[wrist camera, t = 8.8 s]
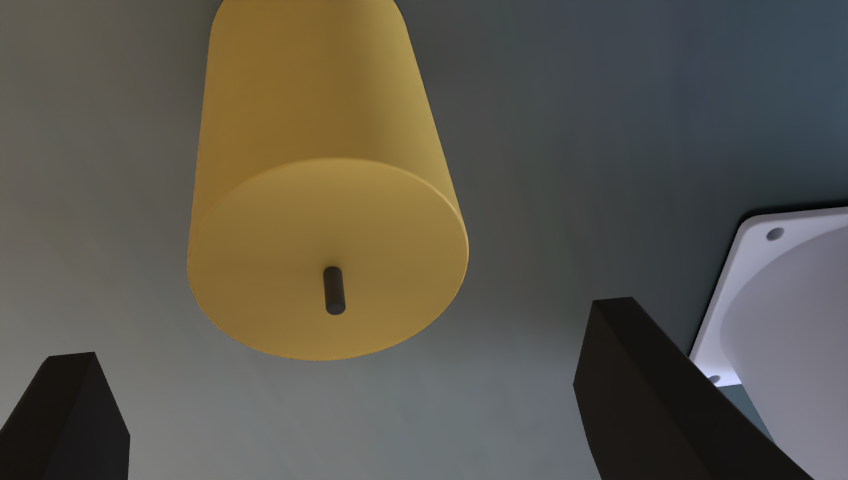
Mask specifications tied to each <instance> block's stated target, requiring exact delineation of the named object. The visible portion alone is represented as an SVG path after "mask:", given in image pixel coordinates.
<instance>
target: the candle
mask: <svg viewBox="0 0 848 480" xmlns="http://www.w3.org/2000/svg"><path fill="white" fill-rule="evenodd" d="M468 259H469V243H468V238H467V233H466V229H465V225H464V222H463V218H462V215H461V212H460V208H459V205H458V201H457V198H456V195H455V191H454V188H453V184H452V181H451V178H450V174H449V171H448V167H447V164H446V161H445V157H444V154H443V150H442V147H441V144H440V140H439V137H438V133H437V130H436V127H435V123H434V120H433V117H432V113H431V110H430V106H429V103H428V100H427V96H426V93H425V89H424V86H423V83H422V79H421V76H420V72H419V69H418V66H417V62H416V59H415V55H414V52H413V49H412V45H411V42H410V38H409V35H408V32H407V28H406V25H405V22H404V20H403V17H402V14H401V13H400V11H399V9H398V7H397V5H396V4H395V2H394V1H393V0H224V1H223V2H222V4H221V5H220V7H219V9H218V11H217V13H216V15H215V18H214V21H213V24H212V28H211V34H210V40H209V50H208V60H207V69H206V79H205V89H204V98H203V108H202V118H201V128H200V137H199V147H198V157H197V166H196V176H195V186H194V195H193V205H192V215H191V225H190V234H189V244H188V254H187V274H188V279H189V284H190V287H191V290H192V292H193V295H194V297H195V299H196V301H197V303H198V304H199V306H200V308H201V309H202V311H203V312H204V313H205V314H206V316H207V317H208V318H209V319H210V320H211V321H212V322H213V323H214V324H215V325H216V326H217V327H218V328H219V329H220V330H222V331H223V332H224V333H226V334H227V335H229V336H230V337H232V338H233V339H235V340H237V341H239V342H240V343H242V344H244V345H246V346H248V347H251V348H253V349H256V350H258V351H261V352H264V353H268V354H271V355H275V356H279V357H285V358H290V359H298V360H312V361H327V360H341V359H347V358H353V357H359V356H363V355H367V354H371V353H375V352H378V351H381V350H383V349H386V348H389V347H391V346H394V345H396V344H398V343H400V342H403V341H404V340H406V339H408V338H410V337H412V336H413V335H415V334H417V333H418V332H420V331H421V330H423V329H424V328H425V327H427V326H428V325H429V324H431V323H432V322H433V321H434V320H435V319H436V318H438V317H439V316H440V315H441V313H442V312H443V311H444V310H445V309H446V308H447V307H448V306H449V304H450V303H451V301H452V300H453V299H454V297H455V296H456V294H457V292H458V290H459V288H460V286H461V285H462V282H463V279H464V276H465V273H466V270H467V265H468Z"/></svg>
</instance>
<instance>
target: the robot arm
mask: <svg viewBox="0 0 848 480" xmlns="http://www.w3.org/2000/svg"><path fill="white" fill-rule="evenodd" d="M734 384H742V385H743V387H744V389H745V390H746V392H747V394H748V396H749V397H750V399H751V401H752V403H753V404H754V406H755V408H756V410H757V411H758V413H759V415H760V417H761V419H762V420H763V422H764V424H765V426H766V427H767V429H768V431H769V433H770V434H771V436H772V438H773V440H774V441H775V443H776V444H774V443H773V442H772V441H771V440H770V439H769V438H768V437H767V436H766V435H765V434H764V433H763V432H762V431H761V430H760V429H759V428H757V427H756V426H755V425H754V424H753V423H752V422H751V421H750V420H749V419H748V418H747V417H746V416H745V415H744V414H743V413H742V412H741V411H740V410H739V409H738V408H737V407H736V406H735V405H734V404H733V403H732V402H731V401H730V400H729V399H728V398H727V397H726V396H725V395H724V394H723V393H722V392H721V391H720V390H719V389H718V388H717V387H718V386H726V385H734ZM573 387H574V391H575V395H576V399H577V403H578V407H579V411H580V415H581V419H582V422H583V426H584V430H585V433H586V437H587V441H588V444H589V448H590V450H591V453H592V456H593V458H594V461H595V464H596V466H597V469H598V471H599V474H600V476H601V479H602V480H848V207H839V208H829V209H818V210H808V211H798V212H788V213H777V214H767V215H758V216H754V217H751V218H749V219H747V220H746V221H745V222H743V223H742V224H741V226H740V228H739V229H738V232H737V234H736V237H735V239H734V242H733V245H732V247H731V250H730V252H729V255H728V258H727V260H726V263H725V266H724V268H723V271H722V273H721V276H720V279H719V281H718V284H717V286H716V289H715V292H714V294H713V297H712V299H711V302H710V305H709V307H708V310H707V312H706V315H705V318H704V320H703V323H702V325H701V328H700V331H699V333H698V336H697V338H696V341H695V344H694V346H693V349H692V351H691V354H690V357H689V358H688V356H687V355H686V354H685V353H684V352H683V351H682V350H681V349H680V348H679V347H678V346H677V345H676V344H675V342H674V341H673V340H672V339H671V338H670V337H669V336H668V335H667V334H666V333H665V332H664V330H663V329H662V328H661V327H660V326H659V325H658V324H657V323H656V322H655V321H654V319H653V318H652V317H651V316H650V315H649V314H648V313H647V312H646V311H645V310H644V308H643V307H642V306H641V305H640V304H639V303H638V302H637V301H636V300H635V299H634V298H633V297H622V298H613V299H603V300H593V302H592V307H591V311H590V315H589V319H588V324H587V328H586V332H585V336H584V340H583V345H582V349H581V353H580V357H579V362H578V366H577V370H576V374H575V379H574V383H573ZM129 448H130V434H129V432H128V430H127V427H126V425H125V423H124V420H123V418H122V416H121V413H120V411H119V408H118V406H117V404H116V401H115V399H114V397H113V394H112V392H111V390H110V387H109V385H108V382H107V380H106V378H105V375H104V373H103V371H102V368H101V366H100V364H99V361H98V359H97V356H96V354H95V352H86V353H76V354H67V355H57V356H49V357H48V358H47V359H46V360H45V361H44V362H43V363H42V365H41V366H40V368H39V370H38V371H37V373H36V374H35V376H34V378H33V379H32V381H31V383H30V384H29V386H28V387H27V389H26V391H25V392H24V394H23V396H22V397H21V399H20V400H19V402H18V404H17V405H16V407H15V408H14V410H13V412H12V413H11V415H10V416H9V418H8V420H7V421H6V423H5V424H4V426H3V427H2V429H1V430H0V480H128V467H129Z"/></svg>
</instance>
